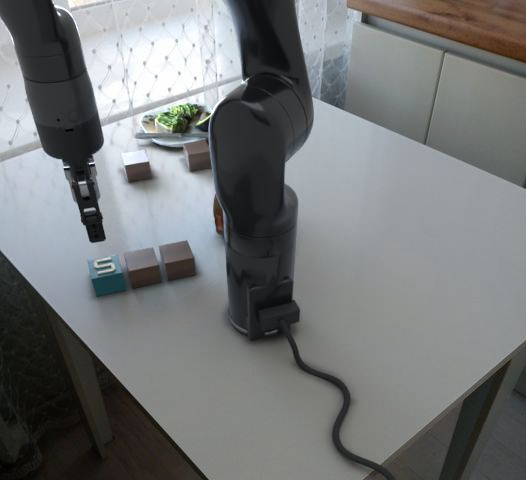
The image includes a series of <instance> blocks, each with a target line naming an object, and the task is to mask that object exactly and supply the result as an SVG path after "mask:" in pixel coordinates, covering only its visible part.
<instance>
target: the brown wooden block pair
mask: <svg viewBox="0 0 526 480" xmlns="http://www.w3.org/2000/svg"><path fill="white" fill-rule="evenodd" d="M158 250H159V256H160V262H161V266H162V268H163V271H164V274H165V276H166V280H167V281H168V282H169V281H173V280H178V279H183V278H187V277H192V276H196V275H197V269H196V268H197V267H196V259H195V256H194V254H193V250H192V248H191V246H190V243H189V241H188V239H187V240H181V241H180V240H179V241H176V242H171V243H166V244H161V245H158ZM123 257H124V262H125V266H126V270H127V274H128V277H129V281H130V284H131V288H132V289H136V288H142V287H146V286H152V285H155V284H161V283H163V280H162V275H161V268H160V264H159V260H158V257H157V255H156V252H155V249H154V247H153V246H150V247H146V248H141V249H136V250H131V251H126V252H123Z"/></svg>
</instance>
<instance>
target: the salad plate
mask: <svg viewBox="0 0 526 480" xmlns="http://www.w3.org/2000/svg"><path fill="white" fill-rule="evenodd" d="M213 109H214V108H212V107H211V106H209V105H208V104H205V103H201V102H192V101H191V102H184V103H180V104H176V105H173V106H169V107H165V108H159V109H154V110H152V111H148V112H146V113H145V114H143V115H142V116H141V118H140V119H139V121H138V122H139V126H140V128H141V129H142V131H143V132H136V133H134V138H135V139H137V140H143V141H149V142H151V143H154V144H157V145H160V146H165V147H169V148H183V143H189V142H195V141H201V140H205V141H206V142H207V143H209V121H210V117H211V113H212V111H213Z"/></svg>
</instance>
